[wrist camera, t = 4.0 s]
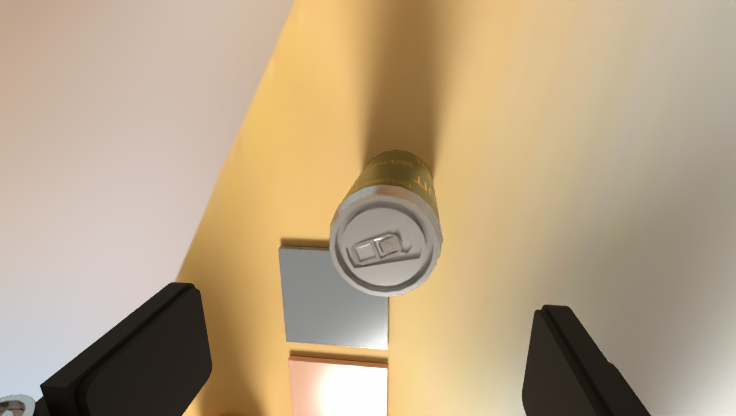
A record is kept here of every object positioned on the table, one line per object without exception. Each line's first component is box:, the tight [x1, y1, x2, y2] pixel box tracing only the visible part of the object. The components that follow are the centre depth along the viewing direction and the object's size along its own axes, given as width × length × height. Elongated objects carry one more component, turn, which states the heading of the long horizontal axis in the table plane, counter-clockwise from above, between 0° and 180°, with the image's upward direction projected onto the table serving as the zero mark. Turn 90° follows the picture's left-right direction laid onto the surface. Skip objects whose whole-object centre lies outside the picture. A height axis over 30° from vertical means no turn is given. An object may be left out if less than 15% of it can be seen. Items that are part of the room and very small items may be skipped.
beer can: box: [329, 150, 443, 297], centre depth 22 cm, size 5×5×12 cm
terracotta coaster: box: [288, 356, 388, 416], centre depth 34 cm, size 9×9×1 cm
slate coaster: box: [279, 246, 388, 350], centre depth 31 cm, size 9×9×1 cm
